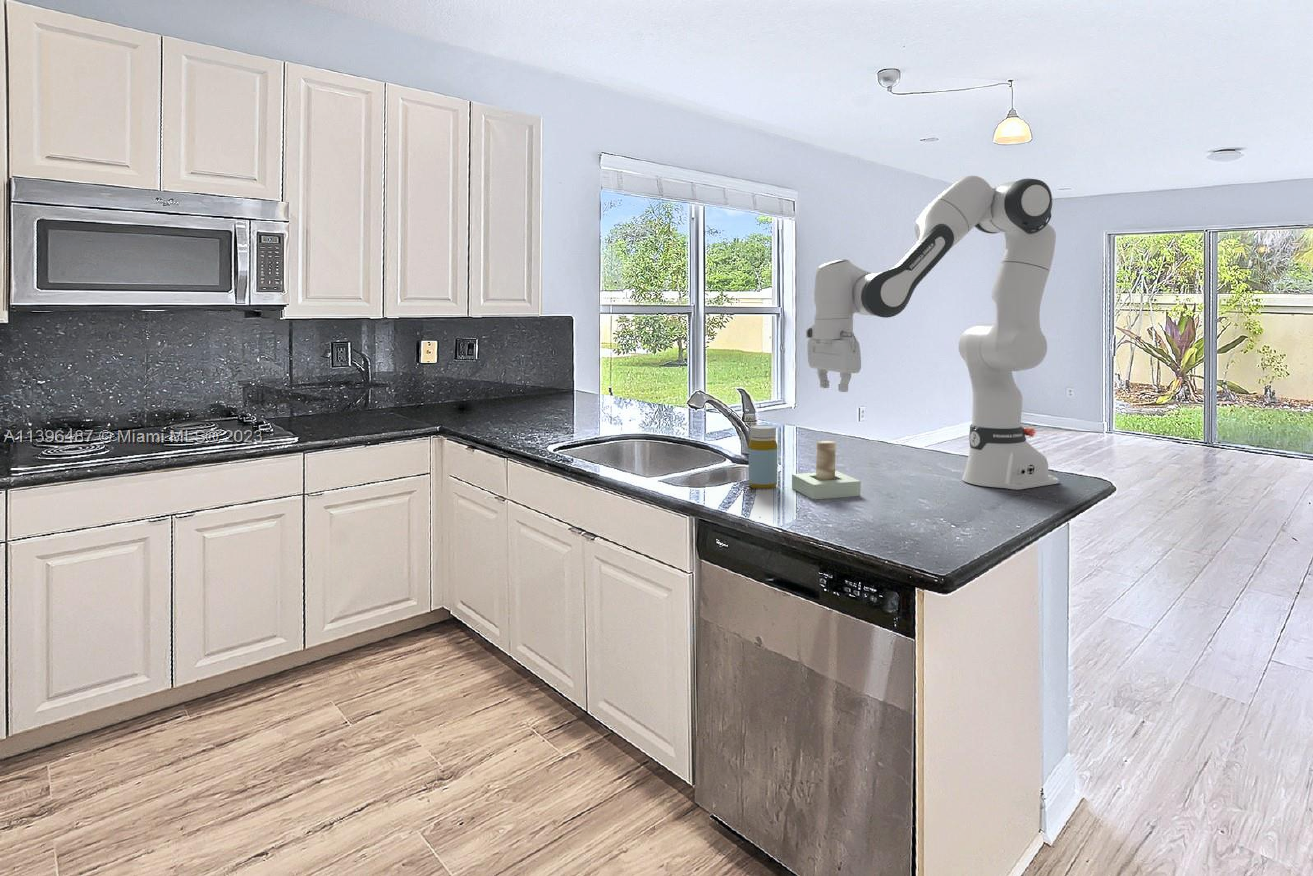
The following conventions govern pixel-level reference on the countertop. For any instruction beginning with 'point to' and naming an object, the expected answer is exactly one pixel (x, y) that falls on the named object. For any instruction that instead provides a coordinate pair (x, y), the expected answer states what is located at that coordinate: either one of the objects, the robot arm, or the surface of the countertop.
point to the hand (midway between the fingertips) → (833, 389)
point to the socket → (826, 486)
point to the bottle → (763, 457)
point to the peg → (825, 460)
